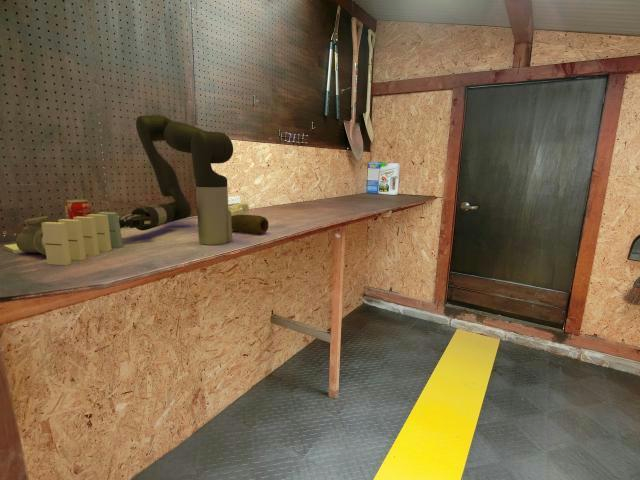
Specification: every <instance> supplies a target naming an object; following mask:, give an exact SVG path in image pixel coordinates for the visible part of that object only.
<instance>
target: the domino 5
mask: <svg viewBox="0 0 640 480" xmlns="http://www.w3.org/2000/svg"><path fill="white" fill-rule="evenodd" d="M97 214H100V215H108V222H109V231H110V240H111V249H112V248H115V249H116V248H117V249H120V248H123V247H124V245H123V244H124V243H123V238H122V233H121V228H120V224H119V218H118V217H119V214H118V212H113V211H112V212H110V211H108V212H107V211H100V212H97Z"/></svg>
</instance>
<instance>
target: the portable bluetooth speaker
mask: <svg viewBox="0 0 640 480" xmlns="http://www.w3.org/2000/svg"><path fill="white" fill-rule="evenodd" d="M231 221H232V232H233V231H234V232H239V233H244V234H249V235H250V234H251V235H264V234H266V233H267V232H268V230H269V221H268V218H267V217H265V216H261V215H255V214H254V215H253V214H248V215H234V216H231Z"/></svg>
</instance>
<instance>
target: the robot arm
mask: <svg viewBox="0 0 640 480" xmlns="http://www.w3.org/2000/svg"><path fill="white" fill-rule="evenodd" d="M135 128H136V131H137V136H138V138H139V140H140V143H141V145H142V148H143V150H144V152H145V154H146V156H147V158H148V160H149V163H150V165H151V166H152V169H153V172H154V175H155V177H156V181H157V185H158V187H159V191H160V193H161V196H163V197H165V198H166V197H168V198H169V197H170V198H171V197H172V199H173V200H174V201H172V202H168V203H162V204H155V205H154V204H153V205H145V206H140V207H136V208H134V209H133V210H132V211H131V213H127V214H126V215H122V216H121V217H120V216H118V218H119V224H120V229H127V228H129V229H134V228H135V229H137V230H139V231H146V230H151V229H155V228H158V227H161V226H162V225H166V224H169V223H173V222H176V221H179V220H184V219H187V218H189V217H190V216H191V214H192V206H191V203H190V201H188V199H187V197H186V196H185V194H184V193H183V190H182V189H181V186H180V182H179V179H178V177H177V173H176V171H175V169H174V168H173V167H172V165H171V164H170V163H169V162H168V161H167V160H166V158H164V157H163V156H162V155H161V153H159V151H158V149H157V148H156V147H155V144H154V142H164V141H165V142H166V144H167V145H168V146H169V147H170V148H172V149H174V150H175V151H176V150H177V151H179V152H181V153H187V154H191V160H192V169H193V176H194V180H195V190H196V191H195V193H196V212H197V229H198V231H197V232H198V233H197V235H198V243H199V244H202V245H209V246H210V245H211V246H212V245H223V244H227V243H230V242H233V230H232V221H231V211H228V206H229V191H228V190H229V189H228V186H229V185H228V178H227V176H225V175H222V174H219V173H217V172H216V171H214V170H213V167H212V164H225V163H227V162H228V161H230V159H232V156H233V155H234V154H233V153H234V145H233V142H232V140H231V138H230V137H229V136H228V135H227V134H226V133H224V132H220V131H209V130H204V129H201V128H199V127H196V126H194V125H190V124H188V123H184V122H182V121H176V120H172V119H170V118H168V117H167V116H164V115H161V114H160V115H159V114H158V115H157V114H154V115H152V114H151V115H149V114H148V115H147V114H146V115H139V116H137V117H136V120H135Z"/></svg>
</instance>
